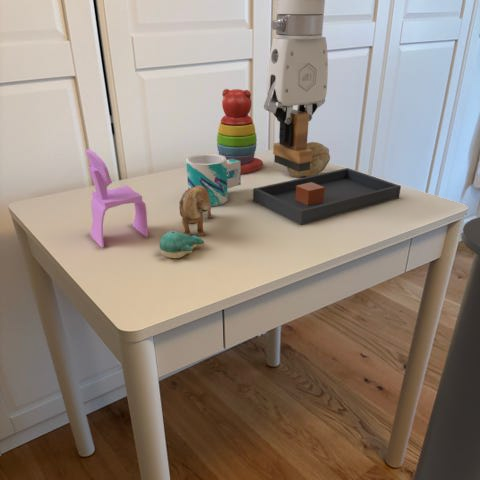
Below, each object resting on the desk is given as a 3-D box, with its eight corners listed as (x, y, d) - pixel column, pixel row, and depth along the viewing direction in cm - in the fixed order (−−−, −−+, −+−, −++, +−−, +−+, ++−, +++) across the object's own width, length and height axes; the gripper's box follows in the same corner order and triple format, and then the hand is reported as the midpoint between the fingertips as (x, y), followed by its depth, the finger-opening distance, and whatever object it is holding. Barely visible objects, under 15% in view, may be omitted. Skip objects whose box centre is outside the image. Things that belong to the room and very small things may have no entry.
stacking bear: (265, 165, 122) (266, 86, 113) (251, 176, 115) (251, 93, 105) (225, 161, 126) (223, 84, 116) (209, 172, 118) (205, 91, 108)
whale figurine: (154, 251, 81) (151, 229, 79) (193, 240, 84) (191, 219, 82) (170, 264, 77) (168, 241, 75) (210, 252, 80) (209, 230, 78)
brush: (311, 169, 90) (315, 114, 85) (298, 172, 89) (302, 116, 84) (285, 159, 96) (287, 107, 91) (272, 162, 95) (274, 109, 89)
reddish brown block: (323, 202, 98) (324, 187, 96) (307, 205, 96) (308, 190, 95) (310, 196, 101) (311, 181, 99) (295, 200, 99) (295, 185, 97)
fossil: (285, 145, 116) (328, 136, 113) (289, 155, 120) (330, 148, 117) (286, 178, 113) (330, 171, 111) (290, 188, 117) (332, 181, 115)
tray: (346, 179, 112) (347, 167, 111) (399, 198, 101) (401, 185, 100) (253, 201, 101) (253, 188, 99) (300, 225, 90) (301, 211, 88)
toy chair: (153, 238, 85) (143, 149, 77) (104, 250, 81) (87, 157, 73) (135, 223, 91) (123, 139, 83) (88, 233, 87) (71, 146, 79)
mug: (180, 199, 102) (177, 158, 97) (223, 186, 109) (222, 147, 104) (206, 209, 97) (204, 166, 92) (250, 195, 104) (250, 154, 99)
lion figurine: (212, 244, 83) (210, 191, 78) (180, 245, 83) (176, 192, 78) (212, 212, 95) (210, 165, 90) (184, 213, 95) (181, 166, 90)
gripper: (272, 30, 74) (269, 155, 84) (352, 27, 81) (340, 142, 91) (245, 28, 79) (244, 146, 89) (322, 25, 87) (313, 134, 97)
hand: (293, 143), depth 90 cm, fingers closed on brush, 2 cm apart
